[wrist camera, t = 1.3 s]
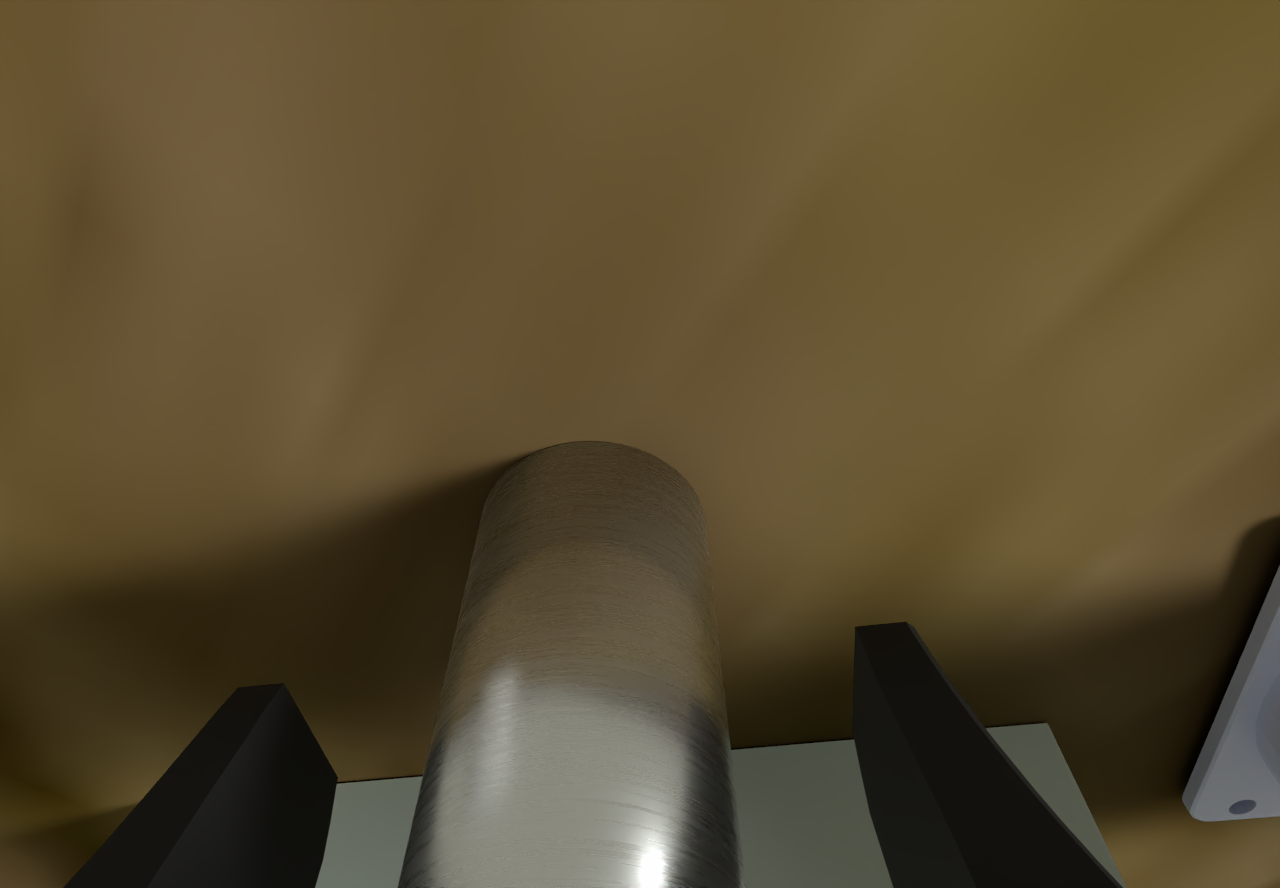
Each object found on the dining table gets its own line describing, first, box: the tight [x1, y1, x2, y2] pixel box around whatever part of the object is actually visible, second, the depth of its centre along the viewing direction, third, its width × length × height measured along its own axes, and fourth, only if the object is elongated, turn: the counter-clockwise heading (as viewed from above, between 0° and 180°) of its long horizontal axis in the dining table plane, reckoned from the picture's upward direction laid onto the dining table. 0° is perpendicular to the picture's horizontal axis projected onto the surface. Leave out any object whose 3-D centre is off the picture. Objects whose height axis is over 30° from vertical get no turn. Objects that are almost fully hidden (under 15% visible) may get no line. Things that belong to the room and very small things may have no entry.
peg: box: [398, 441, 746, 888], centre depth 11 cm, size 4×4×7 cm
